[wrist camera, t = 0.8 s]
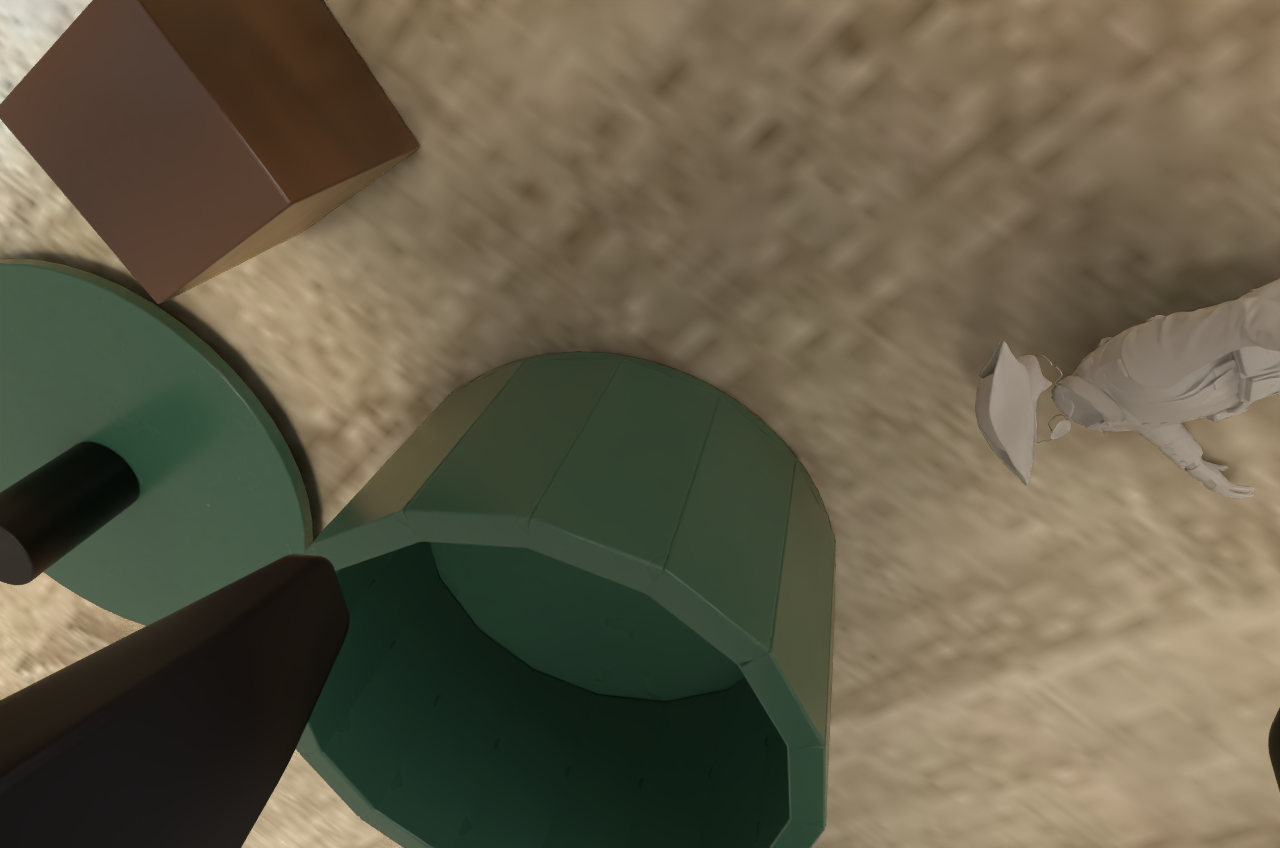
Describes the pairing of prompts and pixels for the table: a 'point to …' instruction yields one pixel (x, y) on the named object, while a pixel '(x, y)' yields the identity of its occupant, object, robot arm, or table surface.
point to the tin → (583, 621)
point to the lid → (131, 450)
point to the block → (204, 129)
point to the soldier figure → (1145, 384)
